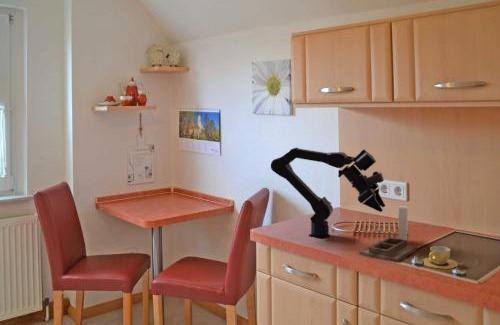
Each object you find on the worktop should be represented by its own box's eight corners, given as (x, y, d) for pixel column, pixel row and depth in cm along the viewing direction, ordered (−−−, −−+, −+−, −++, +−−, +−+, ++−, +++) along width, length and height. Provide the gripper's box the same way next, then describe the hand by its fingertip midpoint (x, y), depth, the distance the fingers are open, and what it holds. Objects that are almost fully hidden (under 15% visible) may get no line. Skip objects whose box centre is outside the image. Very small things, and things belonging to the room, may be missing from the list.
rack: (359, 254, 183) (359, 245, 183) (381, 243, 197) (381, 235, 197) (396, 262, 174) (396, 253, 174) (416, 250, 188) (417, 241, 188)
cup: (437, 256, 181) (438, 241, 180) (466, 266, 171) (467, 250, 170) (413, 262, 175) (413, 246, 175) (441, 272, 165) (442, 256, 164)
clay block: (398, 244, 196) (399, 208, 195) (398, 240, 201) (399, 205, 199) (406, 244, 195) (407, 208, 194) (406, 241, 200) (407, 206, 198)
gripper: (368, 168, 189) (397, 200, 187) (374, 162, 207) (401, 191, 204) (346, 187, 193) (374, 219, 191) (354, 180, 211) (379, 209, 208)
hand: (383, 208), depth 199 cm, fingers open, 9 cm apart
